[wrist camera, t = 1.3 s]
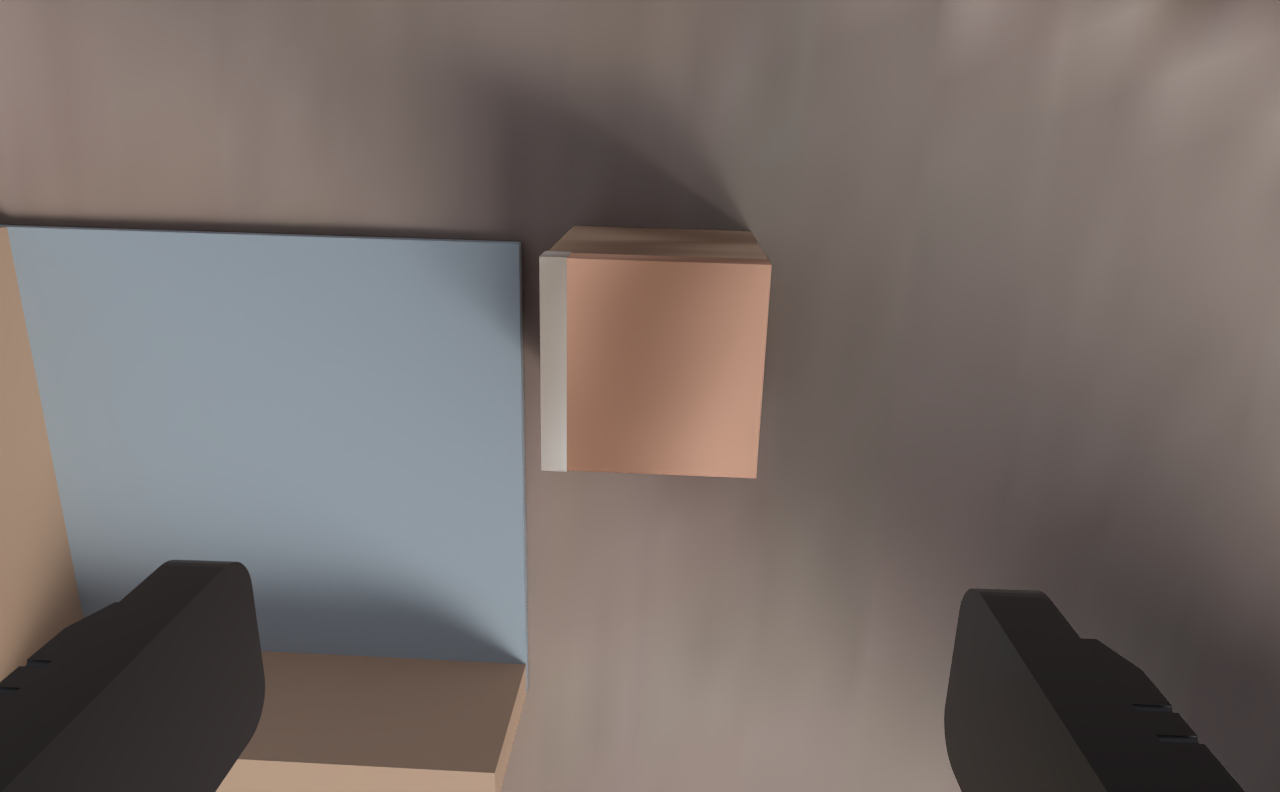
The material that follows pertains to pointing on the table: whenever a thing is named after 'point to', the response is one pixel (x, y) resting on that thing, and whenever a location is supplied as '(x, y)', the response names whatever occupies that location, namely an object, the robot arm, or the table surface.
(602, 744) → the table surface
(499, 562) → the arena
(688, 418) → the block
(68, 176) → the table surface
